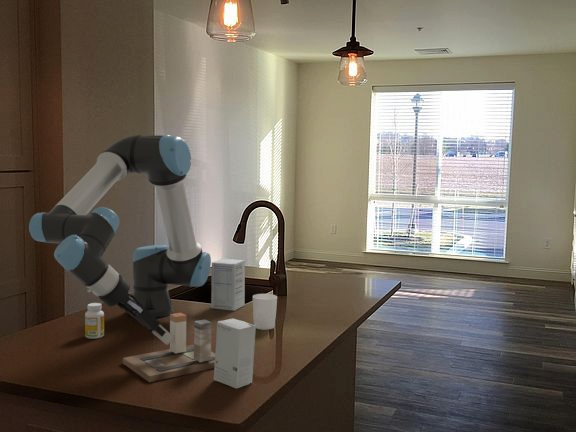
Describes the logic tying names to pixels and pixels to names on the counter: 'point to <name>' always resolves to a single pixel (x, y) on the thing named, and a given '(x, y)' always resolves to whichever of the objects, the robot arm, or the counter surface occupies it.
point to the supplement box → (228, 284)
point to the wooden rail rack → (176, 357)
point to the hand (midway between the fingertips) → (169, 340)
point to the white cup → (264, 311)
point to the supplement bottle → (94, 321)
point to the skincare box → (234, 352)
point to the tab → (178, 332)
